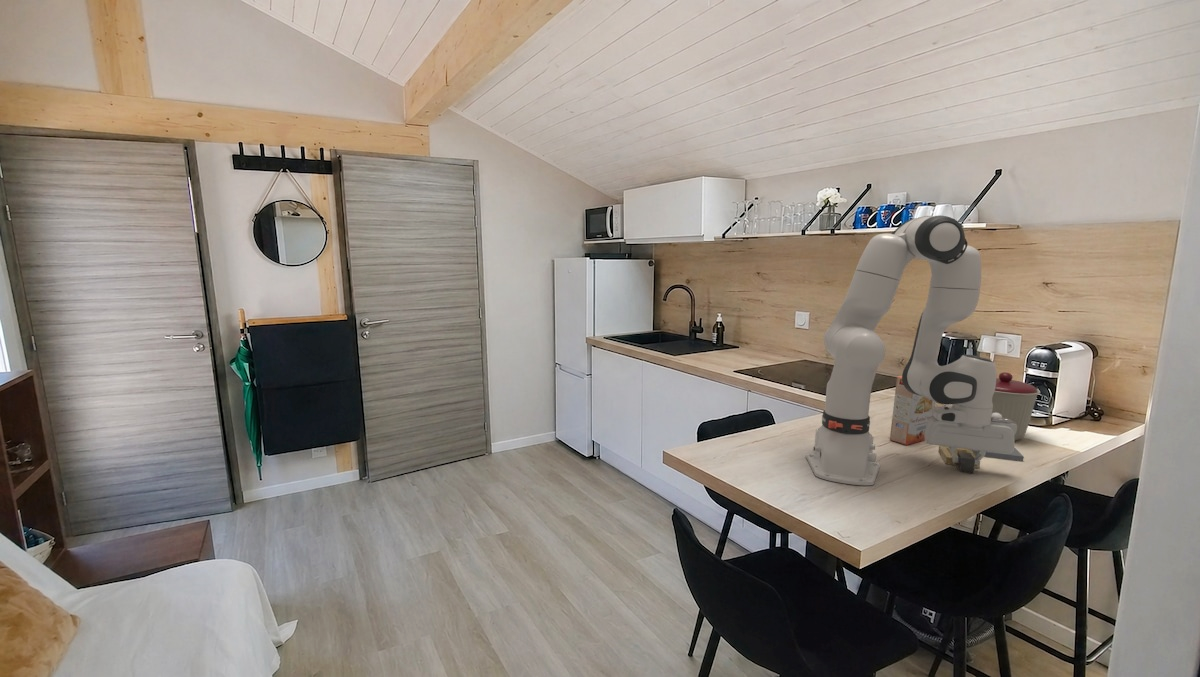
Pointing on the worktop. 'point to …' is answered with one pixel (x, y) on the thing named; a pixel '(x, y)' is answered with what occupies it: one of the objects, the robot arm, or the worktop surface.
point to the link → (965, 458)
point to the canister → (1014, 401)
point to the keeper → (1013, 456)
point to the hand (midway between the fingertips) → (965, 463)
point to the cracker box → (909, 415)
